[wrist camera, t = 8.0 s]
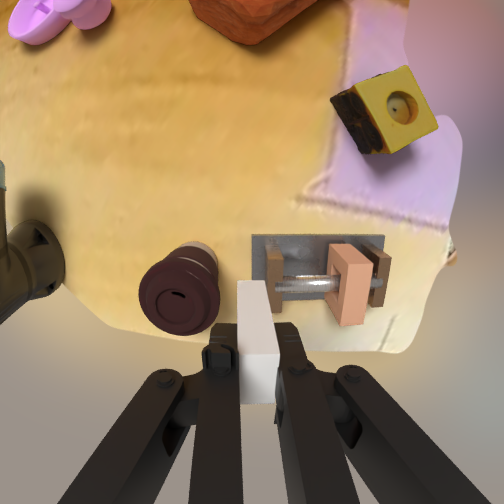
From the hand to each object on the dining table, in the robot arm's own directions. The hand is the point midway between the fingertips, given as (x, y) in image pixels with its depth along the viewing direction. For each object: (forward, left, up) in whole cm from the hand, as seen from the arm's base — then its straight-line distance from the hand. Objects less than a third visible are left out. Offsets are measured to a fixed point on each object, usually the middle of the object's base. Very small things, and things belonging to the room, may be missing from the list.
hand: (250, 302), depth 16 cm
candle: (+19, +16, -29) cm, 38 cm away
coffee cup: (-8, -8, -29) cm, 31 cm away
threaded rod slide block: (+12, -9, -28) cm, 32 cm away
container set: (-34, +42, -29) cm, 61 cm away
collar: (+14, -9, -26) cm, 31 cm away
